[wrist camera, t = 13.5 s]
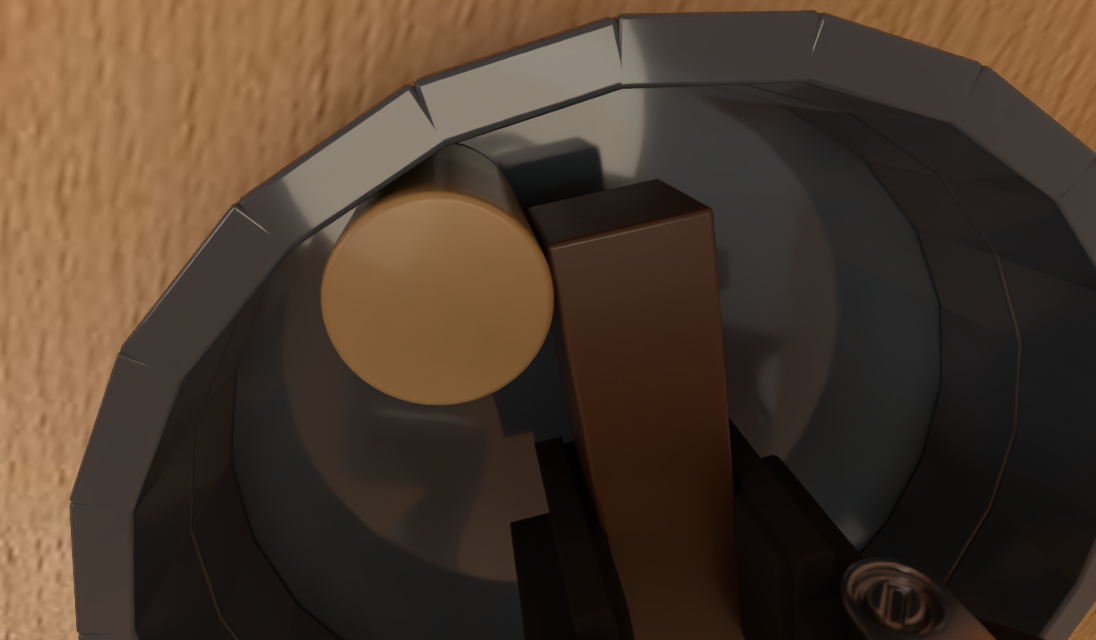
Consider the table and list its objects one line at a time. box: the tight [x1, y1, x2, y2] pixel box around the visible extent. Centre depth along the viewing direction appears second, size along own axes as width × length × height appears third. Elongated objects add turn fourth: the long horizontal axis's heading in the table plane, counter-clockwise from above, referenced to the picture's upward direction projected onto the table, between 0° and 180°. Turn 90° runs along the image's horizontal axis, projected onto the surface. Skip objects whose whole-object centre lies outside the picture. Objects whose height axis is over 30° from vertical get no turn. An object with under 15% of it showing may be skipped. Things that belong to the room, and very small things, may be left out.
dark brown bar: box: [527, 179, 745, 640], centre depth 10 cm, size 11×2×2 cm, turn 11°
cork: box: [320, 144, 554, 405], centre depth 8 cm, size 3×3×4 cm
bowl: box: [70, 10, 1096, 640], centre depth 11 cm, size 16×16×4 cm
